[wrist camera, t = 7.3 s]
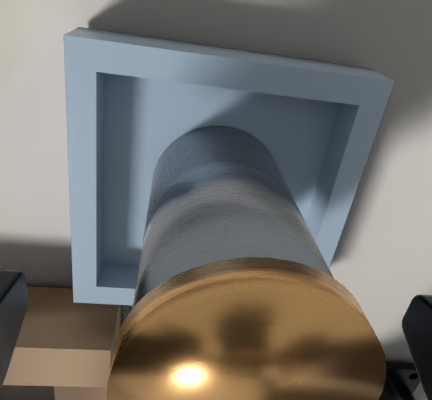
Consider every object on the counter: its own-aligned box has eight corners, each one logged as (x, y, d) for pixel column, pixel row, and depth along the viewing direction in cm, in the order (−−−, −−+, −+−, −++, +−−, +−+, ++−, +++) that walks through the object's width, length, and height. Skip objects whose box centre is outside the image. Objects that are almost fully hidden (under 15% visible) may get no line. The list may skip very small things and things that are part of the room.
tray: (369, 68, 13) (394, 80, 11) (300, 283, 17) (312, 314, 15) (79, 27, 12) (63, 35, 10) (84, 270, 16) (73, 302, 14)
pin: (299, 128, 13) (431, 301, 6) (268, 248, 15) (339, 473, 8) (151, 110, 12) (109, 280, 5) (142, 237, 15) (104, 472, 8)
